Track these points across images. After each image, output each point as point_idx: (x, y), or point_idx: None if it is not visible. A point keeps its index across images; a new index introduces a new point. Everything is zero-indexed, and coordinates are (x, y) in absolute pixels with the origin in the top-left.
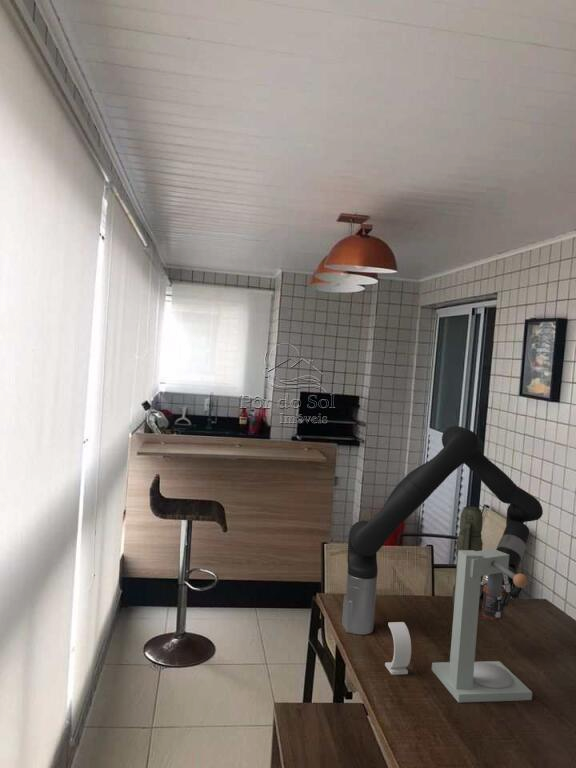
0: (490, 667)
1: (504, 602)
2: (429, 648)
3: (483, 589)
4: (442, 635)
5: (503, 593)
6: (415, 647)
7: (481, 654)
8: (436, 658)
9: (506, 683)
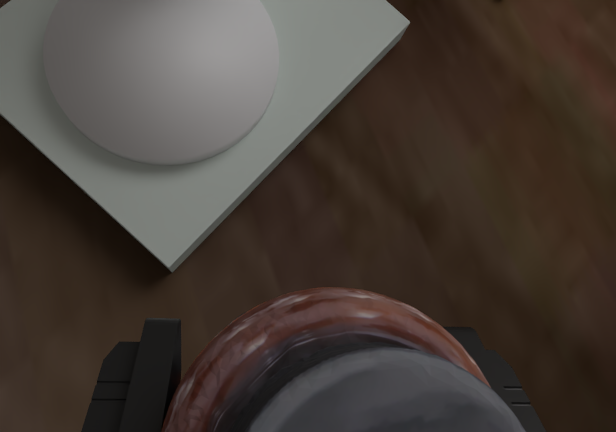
0: (171, 115)
1: (133, 346)
2: (504, 223)
3: None
4: None
5: (162, 428)
6: (550, 185)
7: None
8: (434, 151)
9: (56, 8)
